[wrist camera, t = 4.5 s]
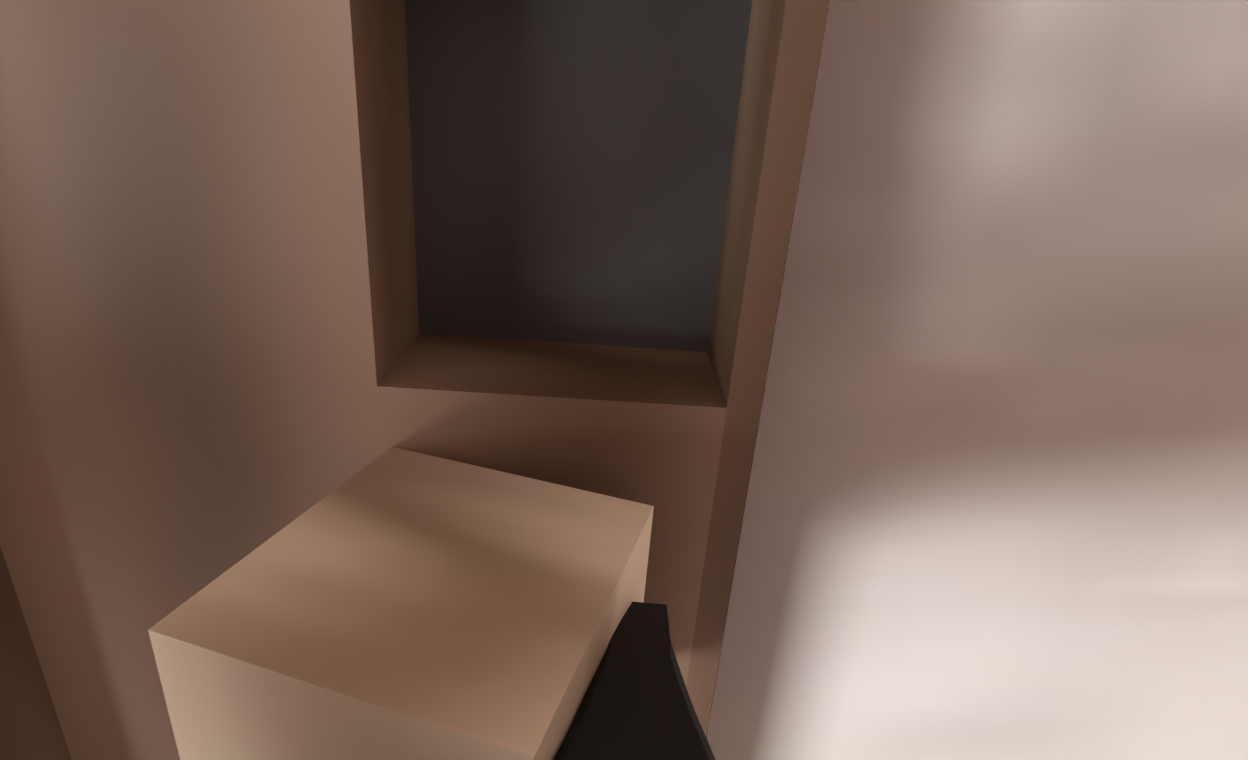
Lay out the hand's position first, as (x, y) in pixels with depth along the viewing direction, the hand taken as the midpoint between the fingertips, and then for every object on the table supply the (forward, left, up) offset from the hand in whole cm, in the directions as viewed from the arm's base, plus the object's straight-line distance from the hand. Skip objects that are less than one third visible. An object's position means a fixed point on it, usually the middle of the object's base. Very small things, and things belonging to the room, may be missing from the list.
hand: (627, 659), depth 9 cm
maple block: (-2, 0, -1) cm, 2 cm away
